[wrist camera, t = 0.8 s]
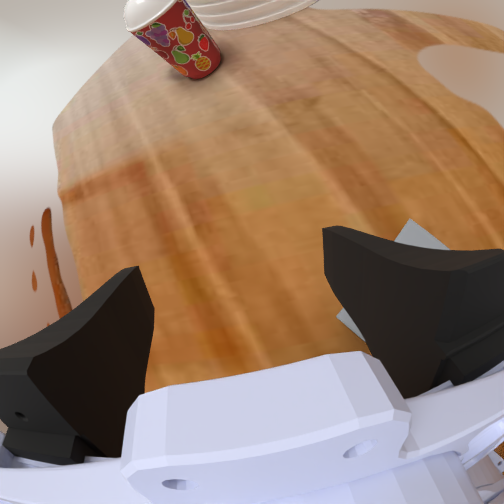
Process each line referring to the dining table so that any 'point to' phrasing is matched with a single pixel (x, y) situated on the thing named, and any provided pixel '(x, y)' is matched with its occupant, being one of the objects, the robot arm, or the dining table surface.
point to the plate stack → (243, 12)
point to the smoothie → (173, 35)
